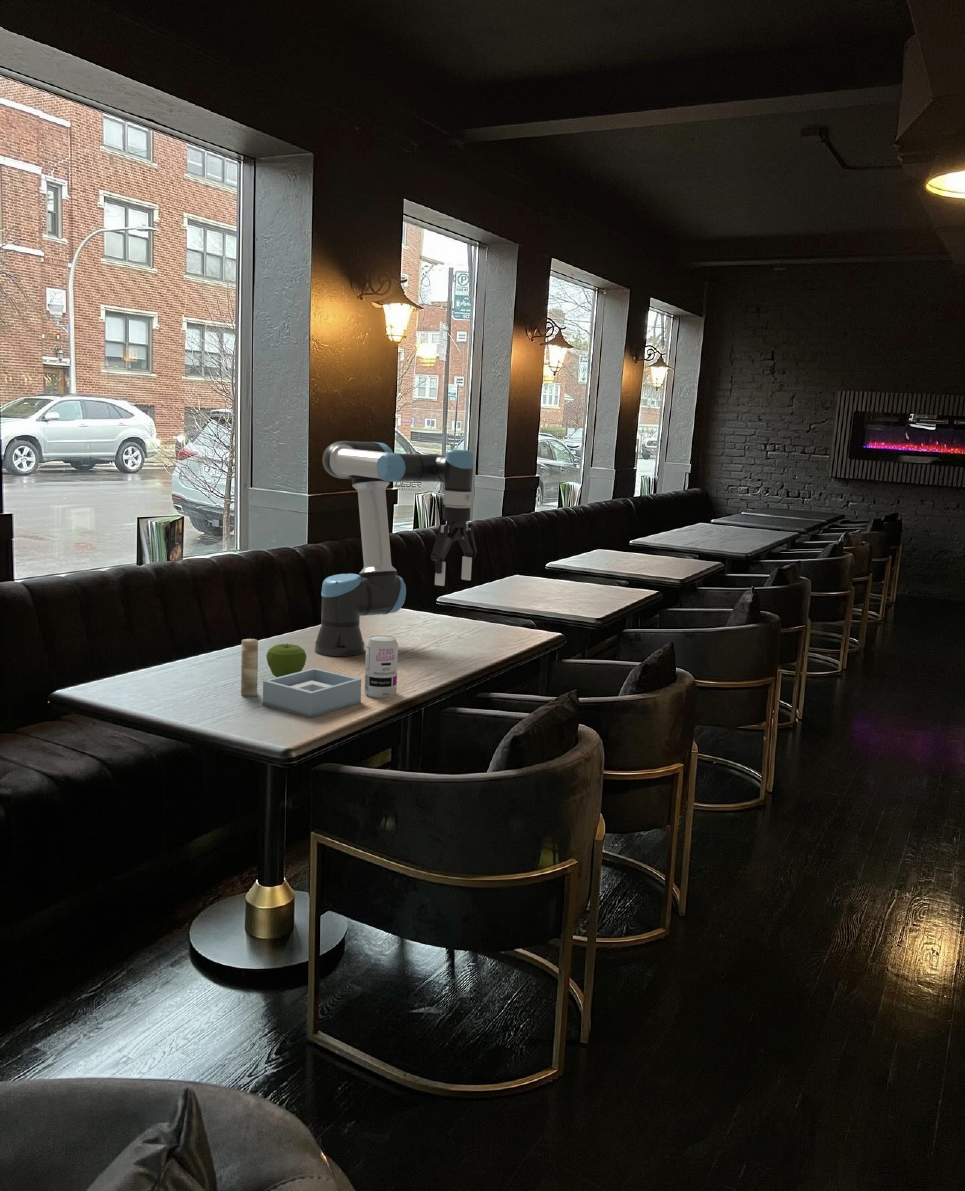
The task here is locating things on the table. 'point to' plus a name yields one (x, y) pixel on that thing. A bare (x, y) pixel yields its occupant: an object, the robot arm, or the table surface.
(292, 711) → the crate
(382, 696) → the supplement can
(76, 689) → the table surface
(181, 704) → the table surface
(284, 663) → the apple
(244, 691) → the peg
